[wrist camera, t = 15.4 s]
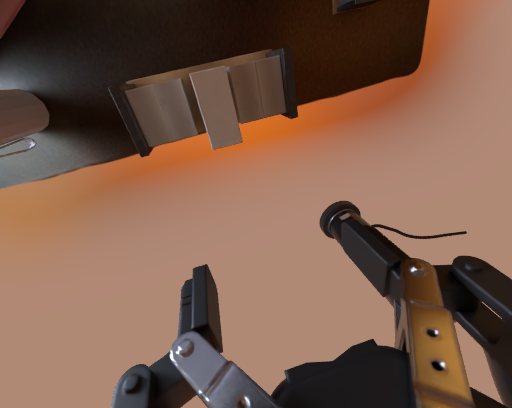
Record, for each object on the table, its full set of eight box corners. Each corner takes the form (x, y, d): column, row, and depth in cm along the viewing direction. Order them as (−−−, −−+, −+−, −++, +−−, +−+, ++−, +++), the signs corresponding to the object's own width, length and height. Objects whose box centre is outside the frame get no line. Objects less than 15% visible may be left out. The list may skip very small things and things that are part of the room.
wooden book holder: (269, 49, 26) (291, 41, 20) (277, 111, 29) (298, 120, 23) (127, 81, 24) (105, 82, 18) (154, 142, 28) (142, 160, 22)
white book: (214, 70, 25) (225, 65, 15) (227, 120, 27) (242, 142, 18) (192, 75, 24) (189, 73, 15) (207, 125, 27) (212, 150, 18)
